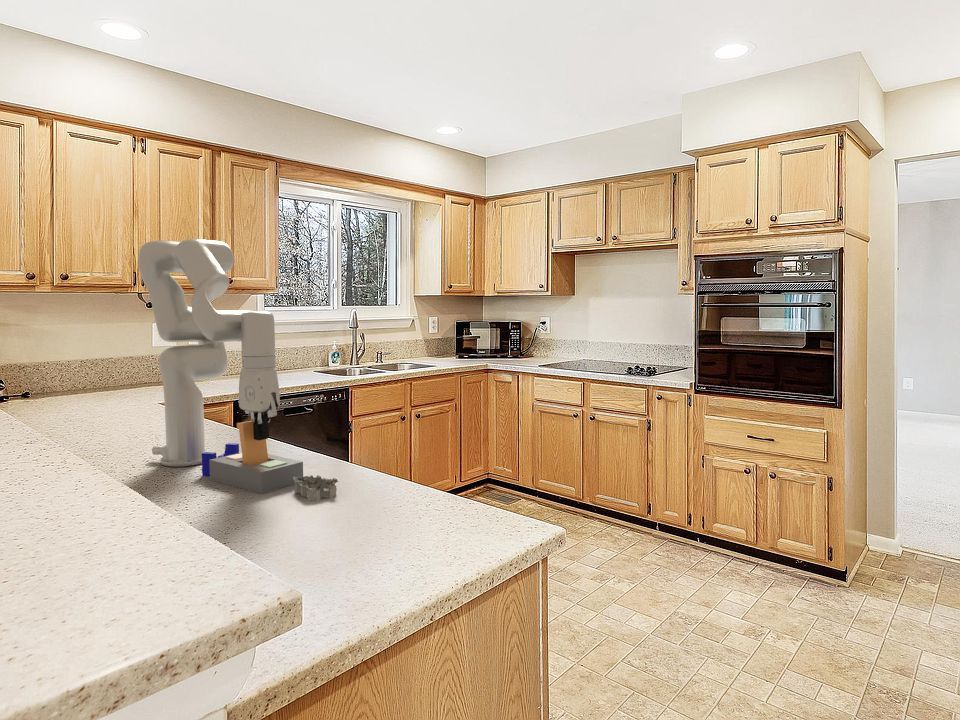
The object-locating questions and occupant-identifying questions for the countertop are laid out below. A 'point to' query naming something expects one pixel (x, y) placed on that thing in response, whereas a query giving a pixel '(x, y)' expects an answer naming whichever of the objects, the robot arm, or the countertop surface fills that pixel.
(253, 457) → the breaker lever
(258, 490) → the breaker box
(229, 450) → the cable clip
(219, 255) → the robot arm
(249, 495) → the countertop surface
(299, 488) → the egg carton
